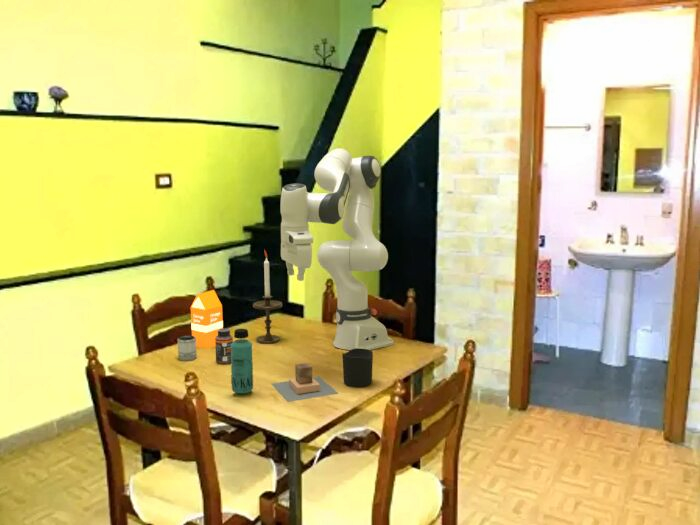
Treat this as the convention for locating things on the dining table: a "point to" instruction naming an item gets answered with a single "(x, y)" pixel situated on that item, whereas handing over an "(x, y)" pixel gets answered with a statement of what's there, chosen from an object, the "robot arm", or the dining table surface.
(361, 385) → the pen holder
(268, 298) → the candlestick
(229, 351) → the supplement bottle
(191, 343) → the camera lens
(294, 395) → the mat
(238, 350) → the beverage bottle
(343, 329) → the robot arm
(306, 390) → the tile
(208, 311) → the orange juice
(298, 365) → the block
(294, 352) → the dining table surface
